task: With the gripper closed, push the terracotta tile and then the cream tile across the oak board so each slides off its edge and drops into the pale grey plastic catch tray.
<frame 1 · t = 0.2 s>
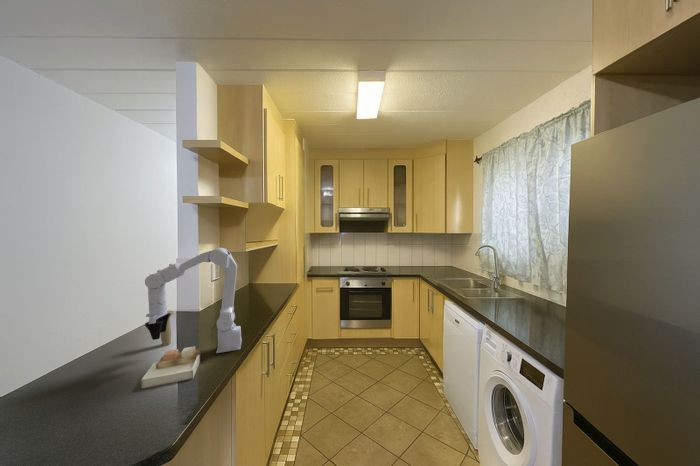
hand: (159, 335, 106), 10 cm above the countertop, fingers open, 7 cm apart
catch tray: (173, 374, 94), on the countertop
oak board: (180, 361, 103), on the countertop
terracotta tile: (171, 357, 102), point 2 cm above the countertop, touching oak board
cream tile: (188, 354, 104), point 2 cm above the countertop, touching oak board
handle: (166, 344, 119), on the countertop
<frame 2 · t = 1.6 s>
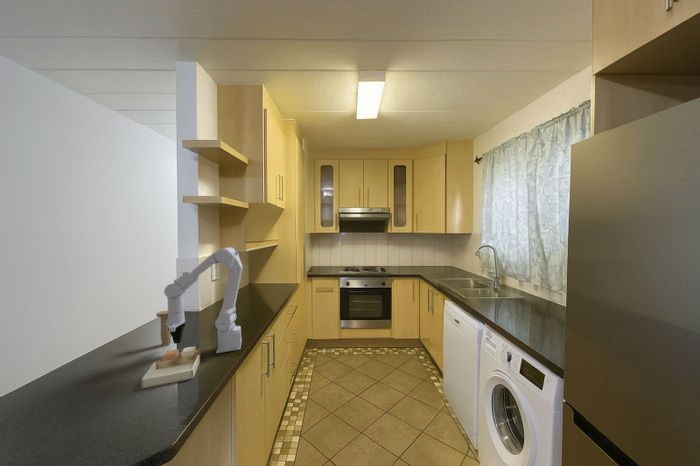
hand: (177, 342, 111), 4 cm above the countertop, fingers closed
nothing on the countertop moved.
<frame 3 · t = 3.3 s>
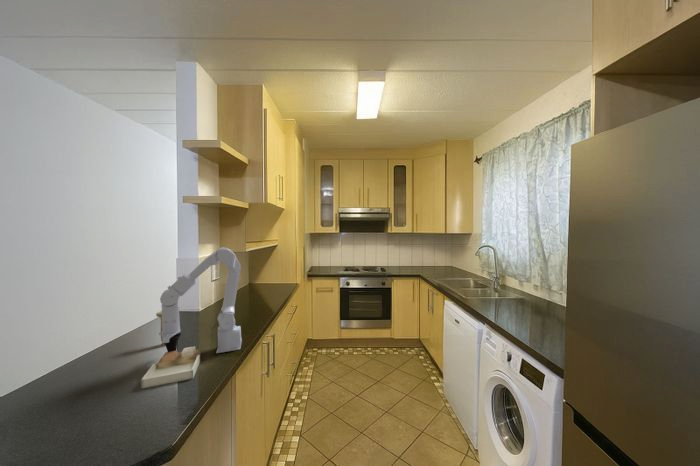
hand: (172, 353, 103), 3 cm above the countertop, fingers closed
terracotta tile: (170, 358, 101), point 2 cm above the countertop, touching gripper, oak board
everything else where it was.
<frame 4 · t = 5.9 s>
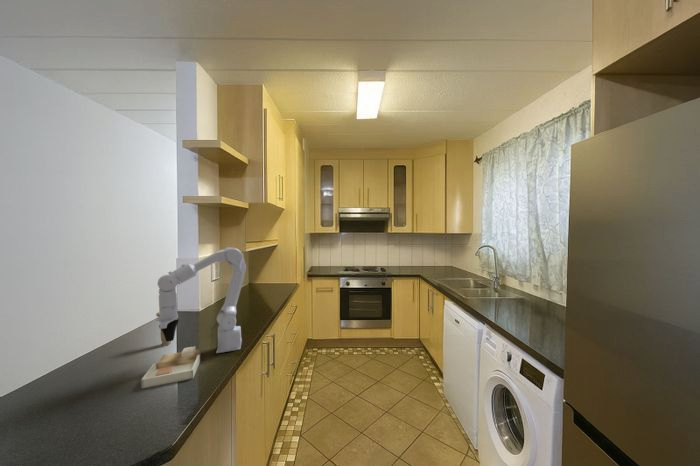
hand: (170, 340, 101), 9 cm above the countertop, fingers closed
terracotta tile: (163, 370, 92), point 2 cm above the countertop, tilted 180°, touching catch tray
everything else where it was.
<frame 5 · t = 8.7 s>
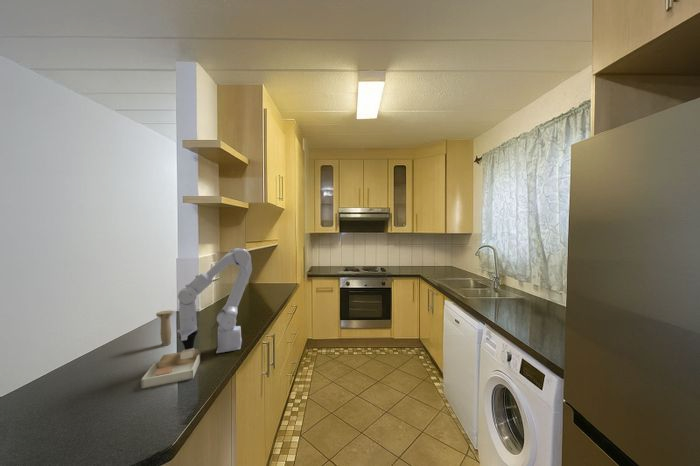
hand: (189, 351, 105), 3 cm above the countertop, fingers closed
cream tile: (187, 356, 102), point 3 cm above the countertop, touching gripper
everything else where it was.
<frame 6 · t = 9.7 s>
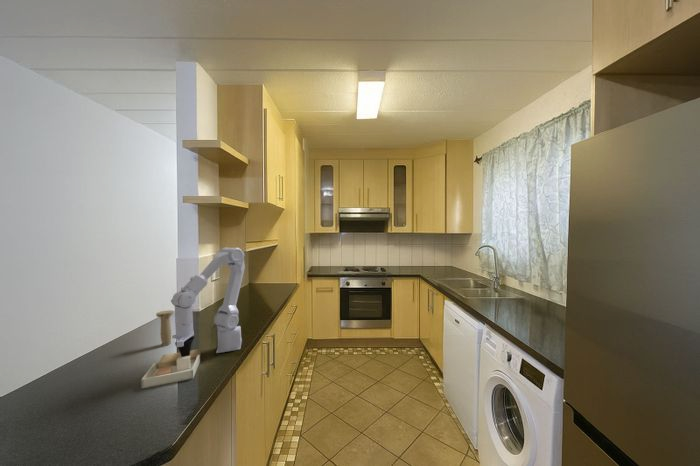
hand: (185, 357, 100), 3 cm above the countertop, fingers closed
cream tile: (184, 361, 98), point 2 cm above the countertop, tilted 90°, touching catch tray
everything else where it was.
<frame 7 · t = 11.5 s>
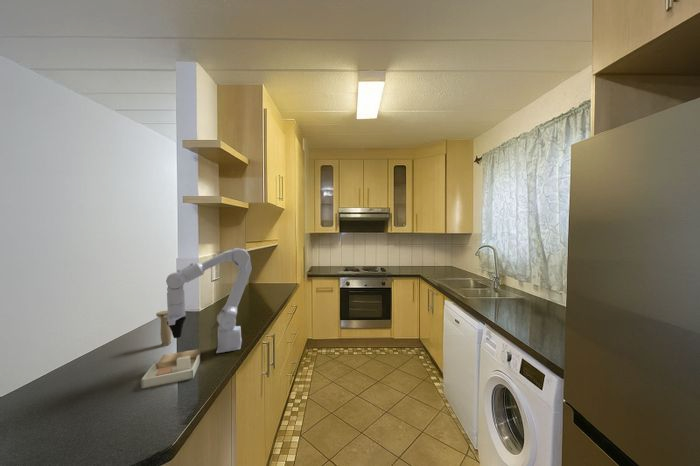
hand: (177, 337, 103), 10 cm above the countertop, fingers closed
nothing on the countertop moved.
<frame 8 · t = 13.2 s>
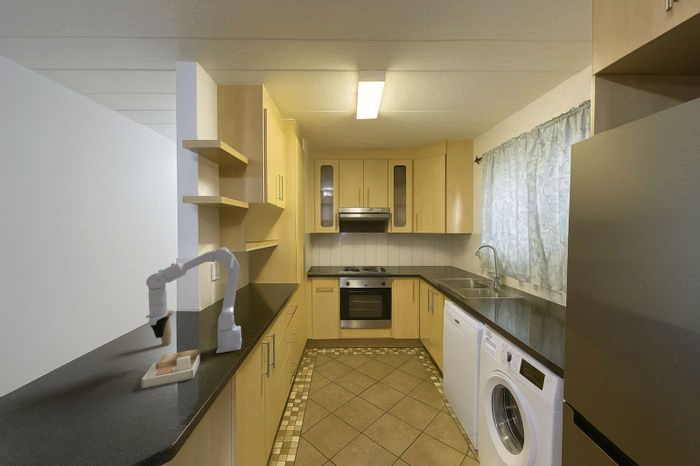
hand: (159, 337, 103), 10 cm above the countertop, fingers closed
nothing on the countertop moved.
at the end: terracotta tile inside the target area (2.7 cm from its centre), point 2.4 cm above the countertop; cream tile inside the target area (4.2 cm from its centre), point 2.4 cm above the countertop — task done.
